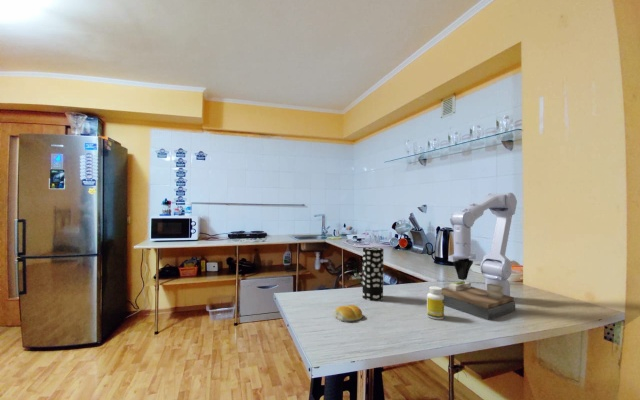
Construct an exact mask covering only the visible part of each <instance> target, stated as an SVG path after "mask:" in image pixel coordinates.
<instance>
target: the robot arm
mask: <svg viewBox="0 0 640 400" xmlns="http://www.w3.org/2000/svg"><path fill="white" fill-rule="evenodd" d="M517 203H518V200H517V198H516V195H515V194H514V193H513V192H506V193H505V192H504V193H488V194H486V195H485V196H484V198H483V199H482V200H481V201H479V202H478V203H474V202H471V203H469V204H468V206H466V207H464V208H462V209H461V210H460V211H455V212H453V213H452V214H451V216H450V219H449V221H450V224H451V226H452V228H451V229H452V231H453V253H452V254H450V255H448V259H447V261H448V262H451V263H452V265H453V266H454V269H455V271H456V275H457V279H458V280H462V281H466V280H467V278H468V275H469V272H470V268H471V267H472V265H473V263H474V260H475V259H476V253H473V252H471V251H472V247H471V246H472V244H471V242H472V241H471V239H472V237H471V236H472V234H471V232H472V231H471V228H472V227H473V226H474V224H475V222H476V220H478V219H479V218H480V217H482V216H483V215H484V213H485V211H486V210H489V211H490V212H491V213H492V214H493V215H495V216H496V221H495V227H494V231H493V235H492V242H491V245H490V246H491V247H490V252H489V253H487V254H485V255H483V258H482V260H481V262H480V264H479V269H480V272H481V274H482V275H483V277H485V278H484V281H485V282H484V286H485V287H484V290H487V284H490V283H491V284H499V285H502V286H503V295H507V296H511V283H510V281H509V278H510V277H511V275H512V261H511V260H510V259H509V258H508V257H507V256H506V252H507V246H508V241H509V240H508V239H509V235H510V231H511V226H512V225H511V224H512V219H513V216H514V215H515V213H516V208H517ZM471 259H472V260H471Z"/></svg>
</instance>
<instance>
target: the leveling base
mask: <svg viewBox="0 0 640 400" xmlns="http://www.w3.org/2000/svg"><path fill="white" fill-rule="evenodd" d="M443 296H444V307H446V308H447V307H448V308H449V309H454V310H457V311H460V312H462V313H466V314H469V315H471V316H474V317H478V318H480V319H483V320H485V321H491V320H493V319H497V318H499V317H502V316H505V315H509V314H511V313H514V312H516V300H514V301H511V302H507V303H504V304H501V305H498V306H494V307H491V308H485V307H482V306H479V305H475V304H472V303H469V302H466V301H462V300H459V299H456V298H452V297H449V296H446V295H443Z"/></svg>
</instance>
